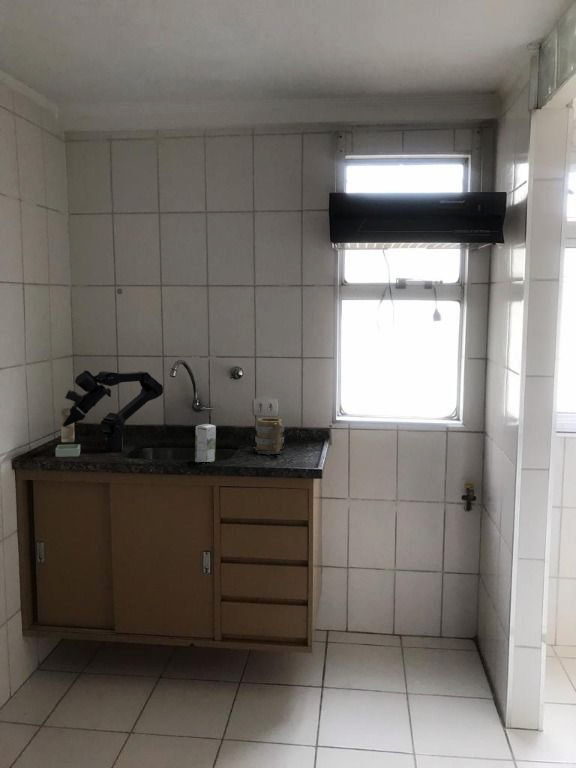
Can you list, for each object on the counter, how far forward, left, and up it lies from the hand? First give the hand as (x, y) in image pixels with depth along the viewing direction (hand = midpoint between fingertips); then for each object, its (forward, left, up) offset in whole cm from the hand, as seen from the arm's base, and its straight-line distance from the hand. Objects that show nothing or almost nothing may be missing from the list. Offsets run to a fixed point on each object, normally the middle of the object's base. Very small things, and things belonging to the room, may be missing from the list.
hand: (64, 424), depth 262 cm
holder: (-1, 0, -12) cm, 12 cm away
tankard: (-83, +9, -12) cm, 85 cm away
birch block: (-1, 0, -7) cm, 7 cm away
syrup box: (-54, +20, -12) cm, 59 cm away
